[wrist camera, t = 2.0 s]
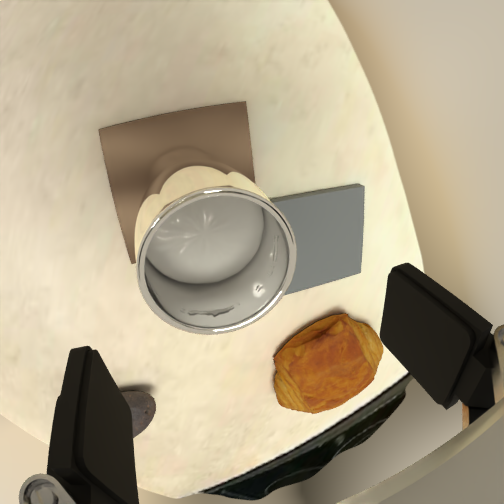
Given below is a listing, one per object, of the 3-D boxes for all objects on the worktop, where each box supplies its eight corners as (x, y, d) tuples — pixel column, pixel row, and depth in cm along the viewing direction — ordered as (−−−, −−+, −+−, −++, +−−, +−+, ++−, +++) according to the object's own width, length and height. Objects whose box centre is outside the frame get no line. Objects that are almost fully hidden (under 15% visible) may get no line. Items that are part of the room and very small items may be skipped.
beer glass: (158, 130, 23) (162, 155, 10) (237, 158, 26) (328, 215, 13) (131, 211, 25) (115, 323, 12) (208, 232, 28) (262, 347, 15)
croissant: (361, 350, 46) (395, 380, 40) (277, 405, 43) (305, 444, 36) (356, 281, 39) (400, 313, 32) (249, 347, 35) (283, 394, 29)
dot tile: (99, 129, 22) (98, 129, 21) (244, 101, 24) (246, 101, 24) (131, 262, 27) (131, 264, 27) (259, 232, 30) (260, 234, 29)
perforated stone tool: (142, 372, 33) (145, 420, 27) (165, 396, 36) (172, 441, 30) (52, 405, 32) (46, 448, 26) (77, 426, 34) (75, 467, 28)
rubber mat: (266, 200, 29) (270, 203, 28) (358, 183, 31) (364, 186, 30) (274, 291, 33) (278, 297, 32) (356, 268, 35) (360, 272, 34)
